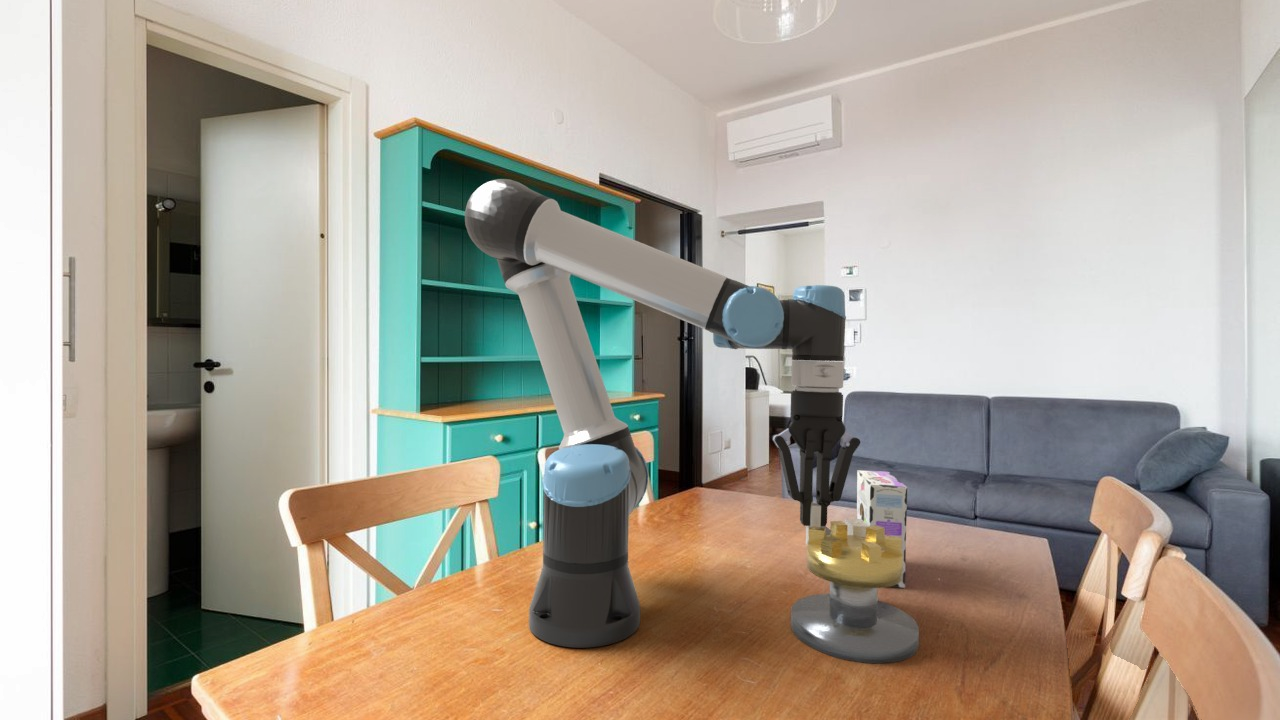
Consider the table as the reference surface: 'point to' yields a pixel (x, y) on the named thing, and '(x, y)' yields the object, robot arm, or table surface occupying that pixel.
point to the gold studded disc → (855, 556)
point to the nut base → (855, 639)
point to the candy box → (883, 505)
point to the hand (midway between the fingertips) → (812, 546)
